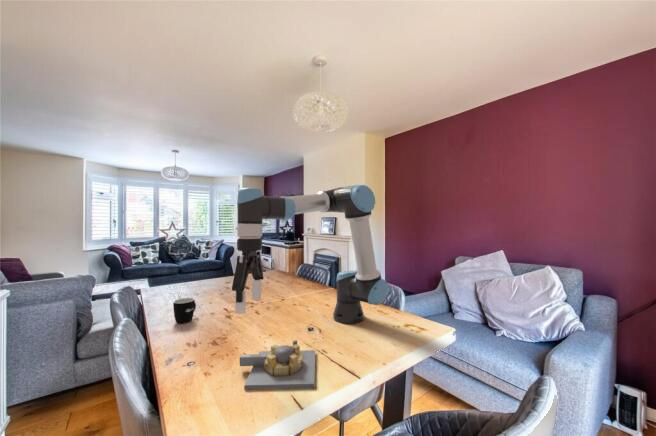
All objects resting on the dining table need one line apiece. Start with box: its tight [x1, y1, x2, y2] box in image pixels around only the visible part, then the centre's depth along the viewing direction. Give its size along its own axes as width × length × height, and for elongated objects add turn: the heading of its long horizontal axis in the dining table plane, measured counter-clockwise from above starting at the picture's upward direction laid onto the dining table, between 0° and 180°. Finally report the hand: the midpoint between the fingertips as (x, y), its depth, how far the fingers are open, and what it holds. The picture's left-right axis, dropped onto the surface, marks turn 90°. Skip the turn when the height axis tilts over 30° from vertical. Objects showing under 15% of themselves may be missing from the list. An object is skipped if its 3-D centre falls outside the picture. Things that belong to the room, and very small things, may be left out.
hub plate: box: [243, 340, 316, 390], centre depth 87 cm, size 20×20×6 cm
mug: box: [172, 297, 197, 325], centre depth 130 cm, size 12×9×10 cm
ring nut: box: [239, 344, 303, 376], centre depth 87 cm, size 20×12×4 cm, turn 92°
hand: (249, 305), depth 84 cm, fingers open, 13 cm apart
